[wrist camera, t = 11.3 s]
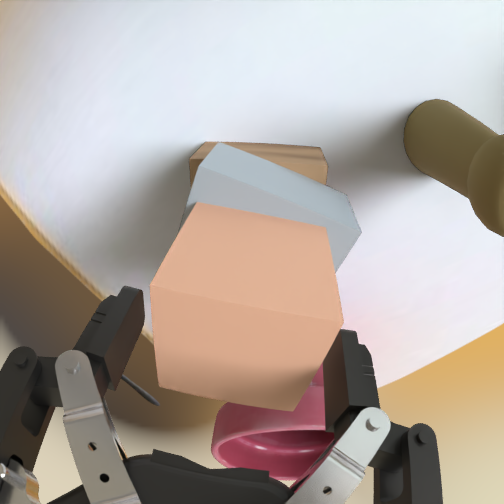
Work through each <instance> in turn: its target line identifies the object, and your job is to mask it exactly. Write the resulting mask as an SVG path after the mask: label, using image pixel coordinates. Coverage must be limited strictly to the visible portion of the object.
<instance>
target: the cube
mask: <svg viewBox="0 0 504 504" xmlns="http://www.w3.org/2000/svg"><path fill="white" fill-rule="evenodd" d="M150 299H151V314H152V327H153V338H154V348H155V358H156V367H157V375H158V383H159V387H163V388H167V389H170V390H175V391H179V392H183V393H187V394H192V395H196V396H201V397H205V398H210V399H215V400H221V401H225V402H231V403H236V404H242V405H248V406H255V407H261V408H268V409H276V410H284V411H292V412H293V411H294V409H295V408H296V406H297V404H298V403H299V401H300V400H301V398H302V396H303V395H304V393H305V391H306V390H307V388H308V386H309V385H310V383H311V381H312V379H313V378H314V376H315V374H316V373H317V371H318V369H319V367H320V366H321V364H322V362H323V360H324V358H325V357H326V355H327V353H328V351H329V349H330V347H331V346H332V344H333V342H334V340H335V338H336V336H337V334H338V332H339V330H340V329H341V327H342V325H343V323H344V320H343V314H342V308H341V302H340V297H339V291H338V285H337V280H336V275H335V269H334V264H333V259H332V254H331V249H330V244H329V239H328V235H327V230H326V227H322V226H317V225H313V224H308V223H303V222H299V221H294V220H289V219H284V218H279V217H274V216H269V215H264V214H259V213H254V212H249V211H244V210H238V209H233V208H228V207H222V206H217V205H211V204H206V203H200V202H197V203H196V204H195V206H194V208H193V209H192V211H191V213H190V214H189V216H188V218H187V220H186V221H185V223H184V225H183V226H182V228H181V230H180V232H179V233H178V235H177V237H176V239H175V240H174V242H173V244H172V246H171V247H170V249H169V251H168V253H167V254H166V256H165V258H164V260H163V262H162V263H161V265H160V267H159V269H158V271H157V273H156V274H155V276H154V278H153V280H152V282H151V284H150Z"/></svg>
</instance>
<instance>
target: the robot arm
mask: <svg viewBox="0 0 504 504" xmlns="http://www.w3.org/2000/svg"><path fill="white" fill-rule="evenodd" d="M144 320H145V312H144V301H143V292H142V290H140V289H136V288H132V287H128V286H124V287H123V288H122V289H121V291H120V293H119V294H118V296H117V297H116V296H113V295H110V296H109V297H107V298H106V299H105V300H103V301H102V302H101V303H100V305H99V307H98V308H97V310H96V313H94V315H93V316H92V318H91V321H89V323H88V325H87V326H86V328H85V330H84V331H83V333H82V335H81V336H80V338H79V340H78V342H77V343H76V345H75V347H74V348H73V349H72V350H69V351H66V352H64V353H63V354H61V355H60V356H59V357H57V358H56V357H55V358H54V357H38V356H37V355H36V353H35V352H34V351H33V350H32V349H31V348H29V347H18V348H16V349H14V350H13V351H12V352H11V353H10V354H9V356H8V358H7V360H6V361H5V363H4V365H3V367H2V369H1V371H0V504H41V503H40V501H39V497H38V492H39V484H38V481H37V479H36V477H35V476H34V475H33V473H32V471H33V468H34V465H35V462H36V459H37V456H38V453H39V450H40V447H41V445H42V442H43V439H44V436H45V433H46V431H47V428H48V425H49V423H50V420H51V417H52V415H53V412H54V410H55V407H63V408H64V413H65V415H64V416H63V423H64V426H65V430H66V434H67V438H68V441H69V444H70V448H71V451H72V454H73V457H74V460H75V463H76V466H77V469H78V472H79V475H80V478H81V480H82V483H83V484H82V485H80V486H79V487H77V488H75V489H73V490H71V491H70V492H68V493H66V494H64V495H62V496H60V497H58V498H57V499H55V500H53V501H51V502H49V503H47V504H344V503H345V502H346V501H347V499H348V498H349V497H350V495H351V494H352V493H353V492H354V490H355V489H356V487H357V486H358V485H359V483H360V482H361V480H362V479H363V477H364V475H365V473H364V470H365V468H366V467H367V466H370V467H374V504H443V499H442V484H441V474H440V464H439V456H438V448H437V440H436V435H435V433H434V431H433V430H432V428H431V427H429V426H428V425H426V424H423V423H418V424H415V425H413V426H412V427H411V428H408V427H404V426H401V425H398V424H395V423H393V422H391V421H390V419H389V417H388V416H387V414H385V412H384V411H382V410H381V409H380V405H379V398H378V392H377V386H376V380H375V376H374V368H373V363H372V358H371V354H370V353H369V351H368V349H367V348H366V346H365V345H362V344H359V343H358V338H357V333H356V331H352V330H345V329H340V330H339V332H338V334H337V336H336V338H335V340H334V342H333V344H332V346H331V347H330V349H329V351H328V353H327V355H326V357H325V358H324V360H323V381H324V403H325V432H334V440H333V441H332V442H331V443H330V444H329V445H328V447H327V448H326V449H325V450H324V451H323V453H322V454H321V455H320V456H319V457H318V458H317V460H316V461H315V462H314V463H313V464H312V465H311V466H310V467H309V469H308V470H307V471H306V472H305V473H304V474H303V475H302V476H300V477H299V478H298V479H297V480H296V481H295V483H293V484H292V485H291V486H290V487H287V486H286V485H285V484H283V483H282V482H280V481H278V480H276V479H274V478H272V477H269V471H267V470H258V469H250V468H242V467H239V468H226V469H209V468H206V467H204V466H201V465H199V464H197V463H195V462H193V461H191V460H188V459H186V458H184V457H182V456H179V455H174V454H171V453H166V452H163V451H159V450H156V449H153V453H152V454H146V455H137V456H133V457H129V458H128V457H127V455H126V453H125V450H124V448H123V446H122V443H121V441H120V439H119V437H118V434H117V432H116V430H115V427H114V424H113V422H112V419H111V416H110V413H109V410H108V407H107V404H106V402H105V398H104V395H105V392H106V390H107V388H108V389H111V390H114V391H115V390H116V388H117V386H118V383H119V381H120V379H121V376H122V374H123V372H124V369H125V367H126V365H127V362H128V360H129V358H130V355H131V353H132V351H133V349H134V346H135V344H136V342H137V340H138V337H139V335H140V333H141V331H142V328H143V325H144Z"/></svg>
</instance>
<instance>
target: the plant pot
mask: <svg viewBox="0 0 504 504" xmlns="http://www.w3.org/2000/svg"><path fill="white" fill-rule="evenodd" d="M333 440H334V432H325V403H324V381H323V362H322V364H321V366H320V367H319V369H318V371H317V373H316V374H315V376H314V378H313V379H312V381H311V383H310V385H309V386H308V388H307V390H306V391H305V393H304V395H303V396H302V398H301V400H300V401H299V403H298V404H297V406H296V408H295V409H294V411H293V412H292V411H284V410H276V409H268V408H261V407H255V406H248V405H242V404H236V403H231V402H227V403H226V404H224V405H223V406H222V407H221V409H220V410H219V412H218V414H217V417H216V422H215V426H214V433H213V438H212V445H211V452H212V455H213V456H214V458H215V459H216V460H217V461H218V462H219V463H221V464H223V465H224V466H226V467H227V468H239V467H242V468H250V469H258V470H267V471H269V477H272V478H274V479H276V480H297V479H298V478H299V477H300V476H302V475H303V474H304V473H305V472H306V471H307V470H308V469H309V467H310V466H311V465H312V464H313V463H314V462H315V461H316V460H317V458H318V457H319V456H320V455H321V454H322V453H323V451H324V450H325V449H326V448H327V447H328V445H329V444H330V443H331V442H332V441H333Z"/></svg>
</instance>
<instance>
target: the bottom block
mask: <svg viewBox="0 0 504 504" xmlns="http://www.w3.org/2000/svg"><path fill="white" fill-rule="evenodd" d="M217 143H218V142H205V143H204V144H203V145H202V146H201V147H200V148H199V149H198V150H197V151H196V152H195V153H194V154H193V155H192V156H191V157H190V159H189V165H190V182H191V188H192V185H193V182H194V179H195V176H196V173H197V170H198V167H199V165H200V164H201V162H202V161H203V160H204V159H205V158H206V156H207V155H208V154H209V153H210V152H211V150H212V149H213V148H214V147H215V146H216V145H217ZM221 143H223V144H226V145H229V146H232V147H234V148H237V149H240V150H242V151H245V152H247V153H250V154H253V155H255V156H258V157H260V158H263V159H265V160H268V161H270V162H273V163H275V164H277V165H280V166H282V167H285V168H287V169H289V170H292V171H294V172H297V173H299V174H301V175H304V176H306V177H308V178H310V179H313V180H315V181H317V182H319V183H322V184H324V185H326V179H327V171H328V165H327V162H326V160H325V157H324V155H323V153H322V150H321V148H320V147H309V146H297V145H283V144H267V143H244V142H221Z"/></svg>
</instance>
